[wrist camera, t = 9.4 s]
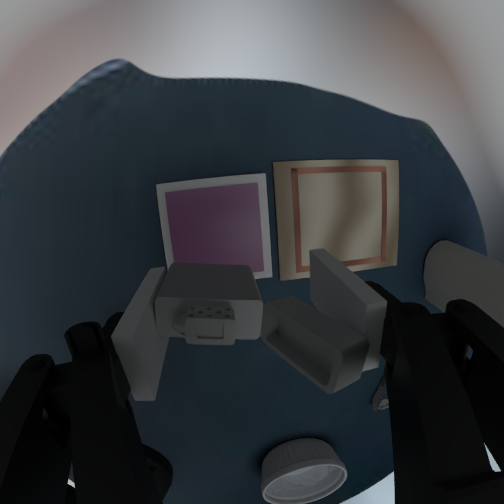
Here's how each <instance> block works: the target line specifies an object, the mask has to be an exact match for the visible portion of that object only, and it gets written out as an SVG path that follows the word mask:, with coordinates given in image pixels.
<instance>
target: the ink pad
mask: <svg viewBox="0 0 504 504" xmlns="http://www.w3.org/2000/svg"><path fill="white" fill-rule="evenodd" d="M156 189H157V198H158V206H159V214H160V222H161V229H162V236H163V243H164V249H165V256H166V262H167V268H168V269H169V267H170V265H171V264H172V263H173V262H179V263H203V264H229V265H249V266H250V268H251V269H252V271H253V274H254V277H255V279H259V278H268V277H272V263H271V247H270V231H269V216H268V202H267V188H266V174H265V173H257V174H244V175H233V176H222V177H212V178H203V179H194V180H185V181H177V182H169V183H162V184H157V185H156Z"/></svg>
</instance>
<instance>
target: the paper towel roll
mask: <svg viewBox="0 0 504 504" xmlns="http://www.w3.org/2000/svg"><path fill="white" fill-rule="evenodd" d="M423 279H424V283H425V287H426V296H425V299H426V300H428V301H429V302H430V303H432V304H433V305H435V306H436V307H437V308H439V309H440V310H442V311H443V312H444V313H445V310H446V304H447V303H448V302H449V301H451V300H457V299H465V300H467V301H470V302H472V303H474V304H475V305H477V306H478V307H479V308H480V309H482V310H483V311H484V312H485V313H487V314H488V315H489V316H490V317H491V318H493V319H494V320H495V321H496V322H497V323H499V324H500V325H501V326H502V327H503V328H504V264H502V263H500V262H498V261H496V260H493V259H490V258H489V257H487V256H484V255H482V254H480V253H477V252H475V251H472V250H470V249H468V248H465V247H463V246H460V245H458V244H455V243H453V242H451V241H448V240H446V241H439V242H438V243H436V244H434V245H433V247H432V248H431V249H430V250H429V252H428V254H427V257H426V259H425V265H424V276H423Z"/></svg>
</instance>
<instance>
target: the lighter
mask: <svg viewBox="0 0 504 504" xmlns="http://www.w3.org/2000/svg"><path fill="white" fill-rule="evenodd" d="M155 315H156V327H157V331H158V334H159V335H160V336H165V337H183V338H185V339H186V342H187V344H204V345H233V344H234V343H235V339H257V338H259V337H260V336H261V339H262V342H264V343H265V344H266V345H267V346H268V347H270V348H271V349H272V350H273V351H274V352H276V353H277V354H278V355H279V356H281V357H282V358H283V359H284V360H285V361H287V362H288V363H289V364H290V365H292V366H293V367H294V368H295V369H297V370H298V371H299V372H300V373H302V374H303V375H304V376H305V377H307V378H308V379H309V380H310V381H312V382H313V383H314V384H316V385H317V386H318V387H319V388H321V389H322V390H323V391H325V392H326V393H327V394H332V393H335V392H337V391H338V390H340V389H342V388H344V387H346V386H348V385H349V384H351V383H353V382H355V381H357V380H358V379H360V376H361V373H362V370H363V366H364V363H365V360H366V357H367V353H368V350H369V346H370V344H369V342H368V339H367V338H366V337H364V336H362V335H361V334H359V333H357V332H355V331H353V330H352V329H350V328H348V327H346V326H345V325H343V324H341V323H339V322H337V321H336V320H334V319H332V318H330V317H329V316H327V315H325V314H323V313H322V312H320V311H318V310H316V309H315V308H313V307H311V306H309V305H308V304H306V303H304V302H302V301H301V300H299V299H297V298H295V297H294V296H293V297H289V298H284V299H279V300H274V301H270V302H266V303H265V304H263V301H262V298H261V295H260V292H259V289H258V286H257V283H256V280H255V277H254V274H253V271H252V269H251V268H250V266H249V265H229V264H203V263H179V262H173V263H172V264H171V265H170V267H169V269H168V271H167V274H166V276H165V278H164V280H163V283H162V285H161V287H160V289H159V292H158V294H157V296H156V299H155Z"/></svg>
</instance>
